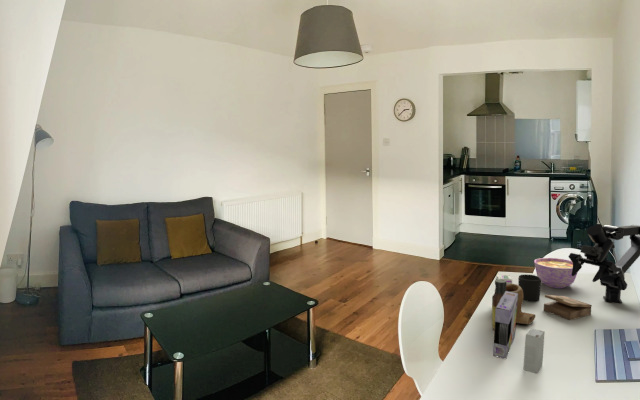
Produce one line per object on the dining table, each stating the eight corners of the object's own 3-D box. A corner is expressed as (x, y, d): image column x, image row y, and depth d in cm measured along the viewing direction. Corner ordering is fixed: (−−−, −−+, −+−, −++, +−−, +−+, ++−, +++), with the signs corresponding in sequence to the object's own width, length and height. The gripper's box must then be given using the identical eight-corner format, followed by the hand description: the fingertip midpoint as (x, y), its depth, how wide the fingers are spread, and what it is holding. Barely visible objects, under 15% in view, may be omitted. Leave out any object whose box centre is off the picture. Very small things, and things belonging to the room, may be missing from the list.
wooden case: (564, 305, 195) (564, 298, 195) (590, 314, 185) (591, 307, 184) (543, 310, 190) (543, 303, 190) (569, 320, 179) (570, 313, 179)
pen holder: (544, 299, 203) (545, 278, 202) (533, 303, 198) (534, 281, 197) (524, 293, 211) (525, 273, 210) (513, 298, 206) (514, 276, 204)
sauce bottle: (509, 329, 172) (511, 279, 169) (510, 335, 166) (512, 284, 163) (490, 327, 174) (492, 277, 171) (491, 333, 168) (493, 282, 166)
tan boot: (489, 322, 178) (490, 286, 176) (496, 313, 188) (497, 278, 186) (531, 330, 170) (532, 292, 168) (535, 320, 180) (537, 284, 178)
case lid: (564, 298, 195) (565, 295, 195) (591, 307, 184) (591, 303, 184) (544, 297, 189) (545, 293, 189) (571, 306, 179) (571, 302, 179)
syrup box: (512, 312, 188) (513, 279, 186) (497, 311, 189) (498, 278, 187) (509, 307, 194) (510, 275, 192) (494, 306, 195) (495, 274, 193)
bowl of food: (527, 279, 233) (528, 257, 232) (568, 280, 230) (569, 258, 229) (541, 291, 214) (542, 268, 212) (585, 292, 211) (587, 269, 209)
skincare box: (528, 362, 146) (529, 327, 144) (543, 366, 143) (545, 330, 141) (522, 370, 141) (524, 333, 139) (538, 374, 138) (539, 337, 137)
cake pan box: (507, 361, 147) (509, 309, 145) (491, 357, 150) (492, 306, 147) (516, 339, 163) (518, 292, 161) (501, 336, 166) (503, 290, 164)
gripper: (572, 234, 198) (554, 262, 195) (615, 242, 181) (596, 273, 178) (582, 249, 202) (565, 277, 199) (625, 258, 185) (607, 289, 182)
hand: (582, 278), depth 189 cm, fingers open, 9 cm apart
